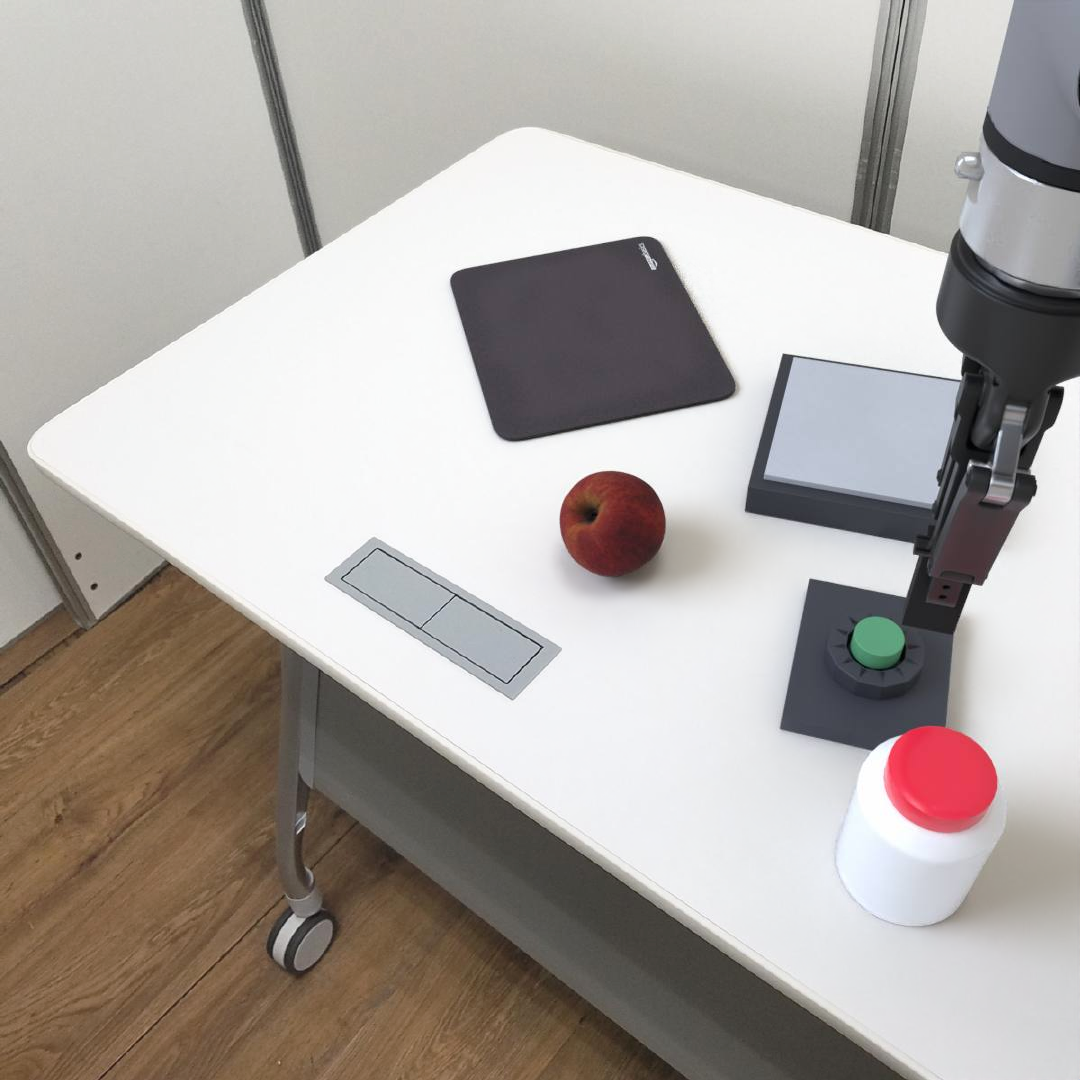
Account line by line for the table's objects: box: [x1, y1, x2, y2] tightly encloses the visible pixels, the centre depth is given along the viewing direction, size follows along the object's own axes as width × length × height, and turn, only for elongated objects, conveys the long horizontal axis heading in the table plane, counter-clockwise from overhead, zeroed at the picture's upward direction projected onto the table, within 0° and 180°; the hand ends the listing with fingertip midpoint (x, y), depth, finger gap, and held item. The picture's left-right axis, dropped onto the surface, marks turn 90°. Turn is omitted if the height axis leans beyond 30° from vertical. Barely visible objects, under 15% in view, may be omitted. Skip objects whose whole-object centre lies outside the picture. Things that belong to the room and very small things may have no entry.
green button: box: [851, 617, 905, 669], centre depth 71 cm, size 3×3×2 cm
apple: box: [559, 470, 667, 577], centre depth 79 cm, size 7×8×8 cm
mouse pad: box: [449, 235, 736, 441], centre depth 99 cm, size 25×21×1 cm
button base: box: [779, 578, 955, 751], centre depth 73 cm, size 12×10×3 cm
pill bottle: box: [834, 726, 1008, 927], centre depth 61 cm, size 8×8×11 cm
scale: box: [744, 353, 961, 544], centre depth 86 cm, size 16×16×3 cm
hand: (928, 619), depth 60 cm, fingers closed
